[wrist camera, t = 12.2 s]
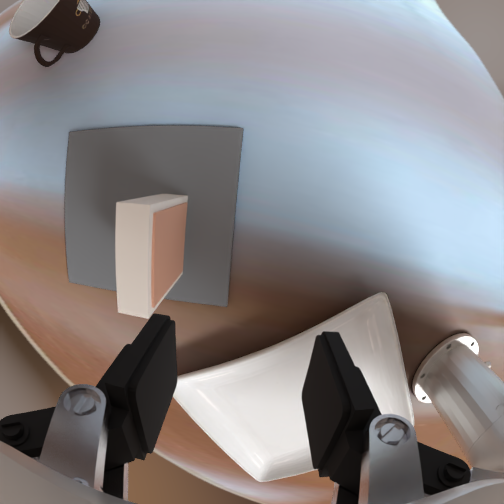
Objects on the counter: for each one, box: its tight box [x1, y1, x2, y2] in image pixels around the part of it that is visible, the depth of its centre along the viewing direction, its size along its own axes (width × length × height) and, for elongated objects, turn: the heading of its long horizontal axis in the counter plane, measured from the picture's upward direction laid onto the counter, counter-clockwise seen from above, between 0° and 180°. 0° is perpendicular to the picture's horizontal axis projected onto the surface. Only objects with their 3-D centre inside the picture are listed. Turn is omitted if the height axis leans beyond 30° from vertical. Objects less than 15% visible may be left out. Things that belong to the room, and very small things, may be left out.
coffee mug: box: [9, 0, 100, 67], centre depth 17 cm, size 12×9×10 cm
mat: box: [65, 125, 243, 307], centre depth 27 cm, size 20×18×1 cm
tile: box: [115, 194, 188, 319], centre depth 23 cm, size 3×8×10 cm, turn 173°
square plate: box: [173, 292, 414, 482], centre depth 32 cm, size 27×27×4 cm
